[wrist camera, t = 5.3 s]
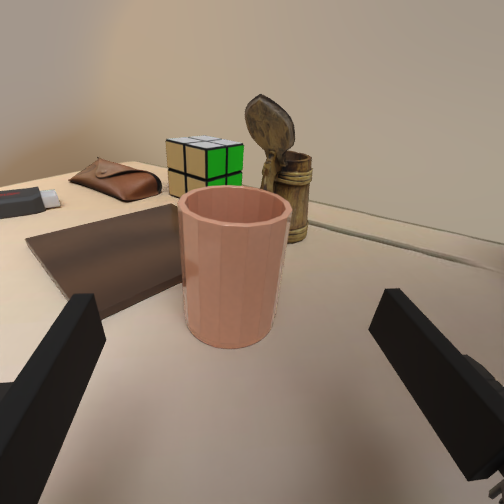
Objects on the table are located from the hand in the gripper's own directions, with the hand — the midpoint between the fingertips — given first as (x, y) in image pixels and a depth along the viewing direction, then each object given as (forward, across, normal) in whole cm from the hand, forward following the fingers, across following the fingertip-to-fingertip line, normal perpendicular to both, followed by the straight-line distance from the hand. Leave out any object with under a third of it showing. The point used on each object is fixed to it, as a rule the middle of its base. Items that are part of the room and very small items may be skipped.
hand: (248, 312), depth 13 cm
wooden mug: (+26, +7, -9) cm, 29 cm away
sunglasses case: (+46, -20, -9) cm, 51 cm away
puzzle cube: (+43, -3, -9) cm, 44 cm away
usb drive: (+33, -31, -10) cm, 46 cm away
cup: (+10, 0, -9) cm, 13 cm away
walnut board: (+22, -10, -9) cm, 26 cm away
